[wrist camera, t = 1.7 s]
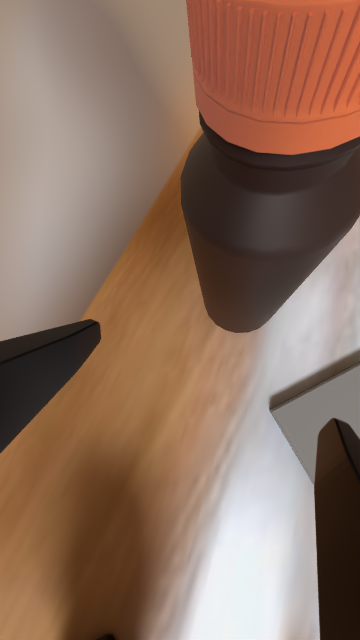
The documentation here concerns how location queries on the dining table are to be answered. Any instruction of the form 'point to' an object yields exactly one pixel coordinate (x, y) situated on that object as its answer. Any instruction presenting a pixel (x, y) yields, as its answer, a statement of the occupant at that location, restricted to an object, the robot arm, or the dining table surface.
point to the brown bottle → (270, 148)
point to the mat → (319, 413)
